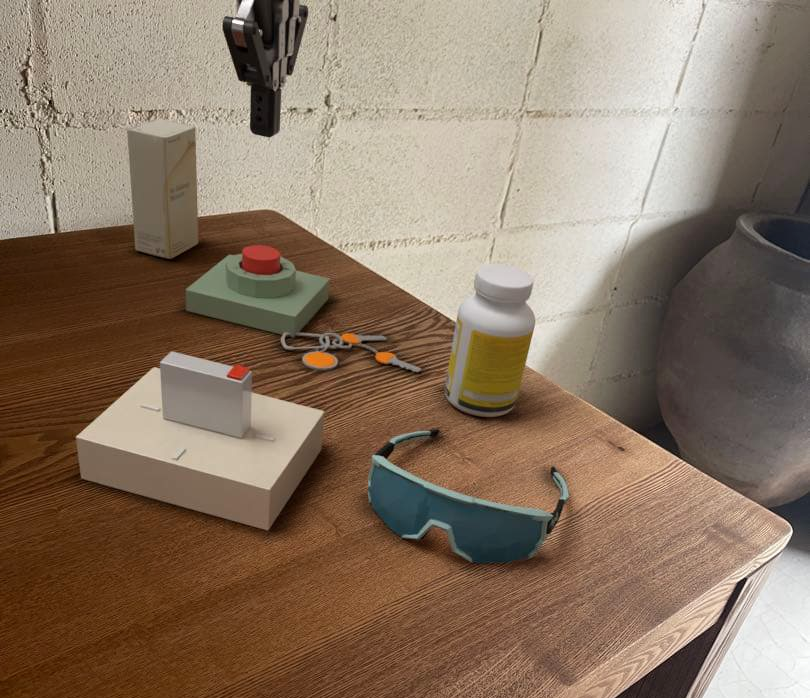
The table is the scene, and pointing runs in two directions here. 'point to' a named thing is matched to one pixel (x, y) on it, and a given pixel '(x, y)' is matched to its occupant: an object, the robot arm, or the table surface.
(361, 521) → the table surface
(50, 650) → the table surface
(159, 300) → the table surface
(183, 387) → the grey flat block
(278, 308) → the button box
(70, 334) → the table surface
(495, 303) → the pill bottle
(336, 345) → the key chain
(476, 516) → the sunglasses
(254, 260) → the button
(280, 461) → the base
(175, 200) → the cosmetic box
